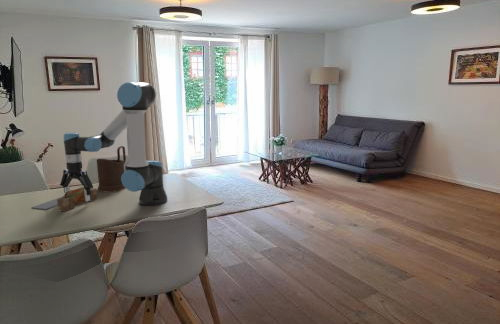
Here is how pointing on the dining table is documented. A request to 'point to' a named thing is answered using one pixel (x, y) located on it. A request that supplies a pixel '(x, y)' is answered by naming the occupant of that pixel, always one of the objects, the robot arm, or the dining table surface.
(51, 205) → the mat
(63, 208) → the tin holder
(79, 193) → the tin
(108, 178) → the brown tapered container
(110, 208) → the dining table surface
